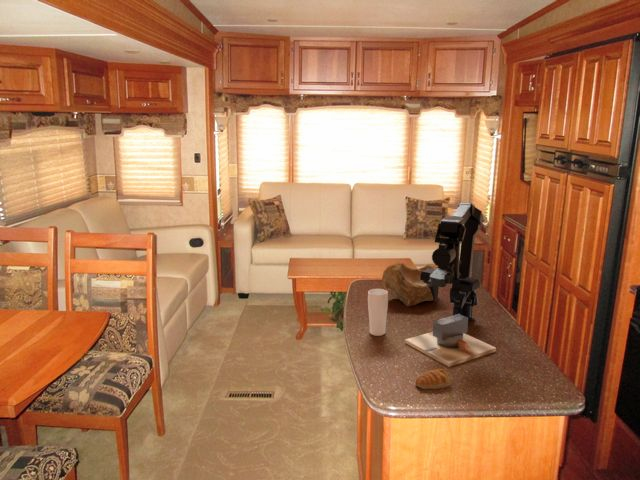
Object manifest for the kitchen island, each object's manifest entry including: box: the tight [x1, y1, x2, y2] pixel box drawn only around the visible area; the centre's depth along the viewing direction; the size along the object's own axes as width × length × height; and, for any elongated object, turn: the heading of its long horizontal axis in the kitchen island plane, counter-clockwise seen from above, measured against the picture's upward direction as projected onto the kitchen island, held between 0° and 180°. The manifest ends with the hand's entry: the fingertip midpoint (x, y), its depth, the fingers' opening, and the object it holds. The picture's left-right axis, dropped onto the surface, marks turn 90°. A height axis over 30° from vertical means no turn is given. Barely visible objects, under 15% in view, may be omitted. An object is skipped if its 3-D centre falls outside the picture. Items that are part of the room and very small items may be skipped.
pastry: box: [414, 367, 452, 390], centre depth 146 cm, size 9×7×4 cm
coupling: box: [432, 314, 469, 350], centre depth 166 cm, size 11×11×8 cm
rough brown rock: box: [381, 261, 438, 307], centre depth 209 cm, size 23×17×15 cm
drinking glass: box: [367, 288, 389, 337], centre depth 178 cm, size 7×7×15 cm
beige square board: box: [404, 331, 497, 368], centre depth 169 cm, size 20×20×1 cm
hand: (448, 304), depth 171 cm, fingers open, 9 cm apart
